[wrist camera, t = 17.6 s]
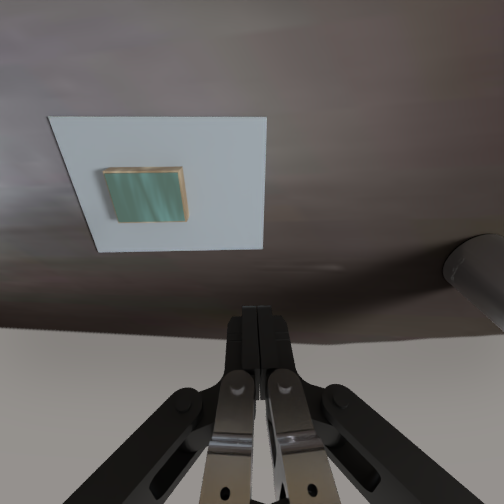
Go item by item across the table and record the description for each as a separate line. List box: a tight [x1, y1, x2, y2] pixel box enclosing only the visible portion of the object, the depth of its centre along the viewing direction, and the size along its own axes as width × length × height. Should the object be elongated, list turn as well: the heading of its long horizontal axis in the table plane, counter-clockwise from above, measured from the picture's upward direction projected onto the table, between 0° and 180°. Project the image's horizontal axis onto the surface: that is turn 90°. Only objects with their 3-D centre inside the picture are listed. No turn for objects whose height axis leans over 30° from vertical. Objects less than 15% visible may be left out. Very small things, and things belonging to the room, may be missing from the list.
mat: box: [48, 116, 267, 252], centre depth 30 cm, size 22×16×1 cm
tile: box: [102, 166, 189, 223], centre depth 29 cm, size 2×6×8 cm
